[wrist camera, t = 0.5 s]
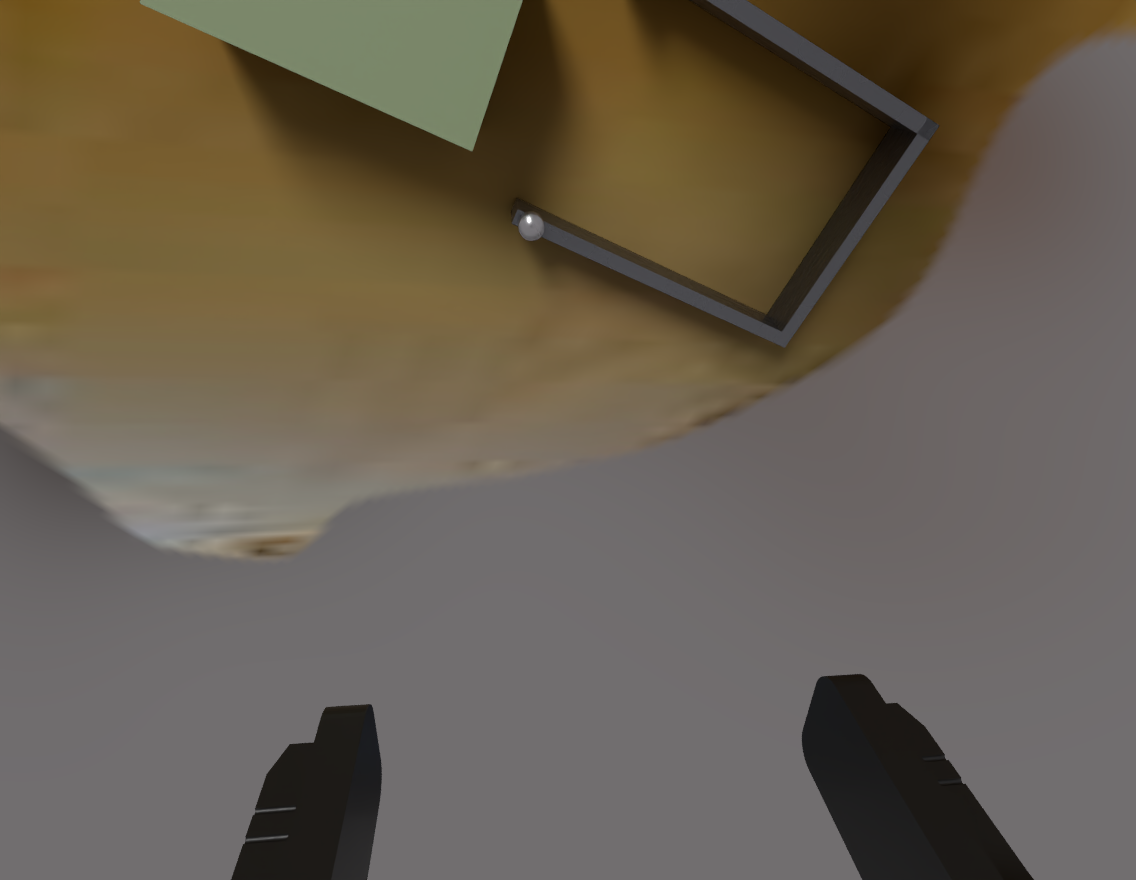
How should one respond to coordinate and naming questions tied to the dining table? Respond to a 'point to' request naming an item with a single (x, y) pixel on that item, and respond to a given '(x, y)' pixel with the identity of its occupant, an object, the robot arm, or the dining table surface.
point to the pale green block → (375, 50)
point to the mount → (838, 234)
